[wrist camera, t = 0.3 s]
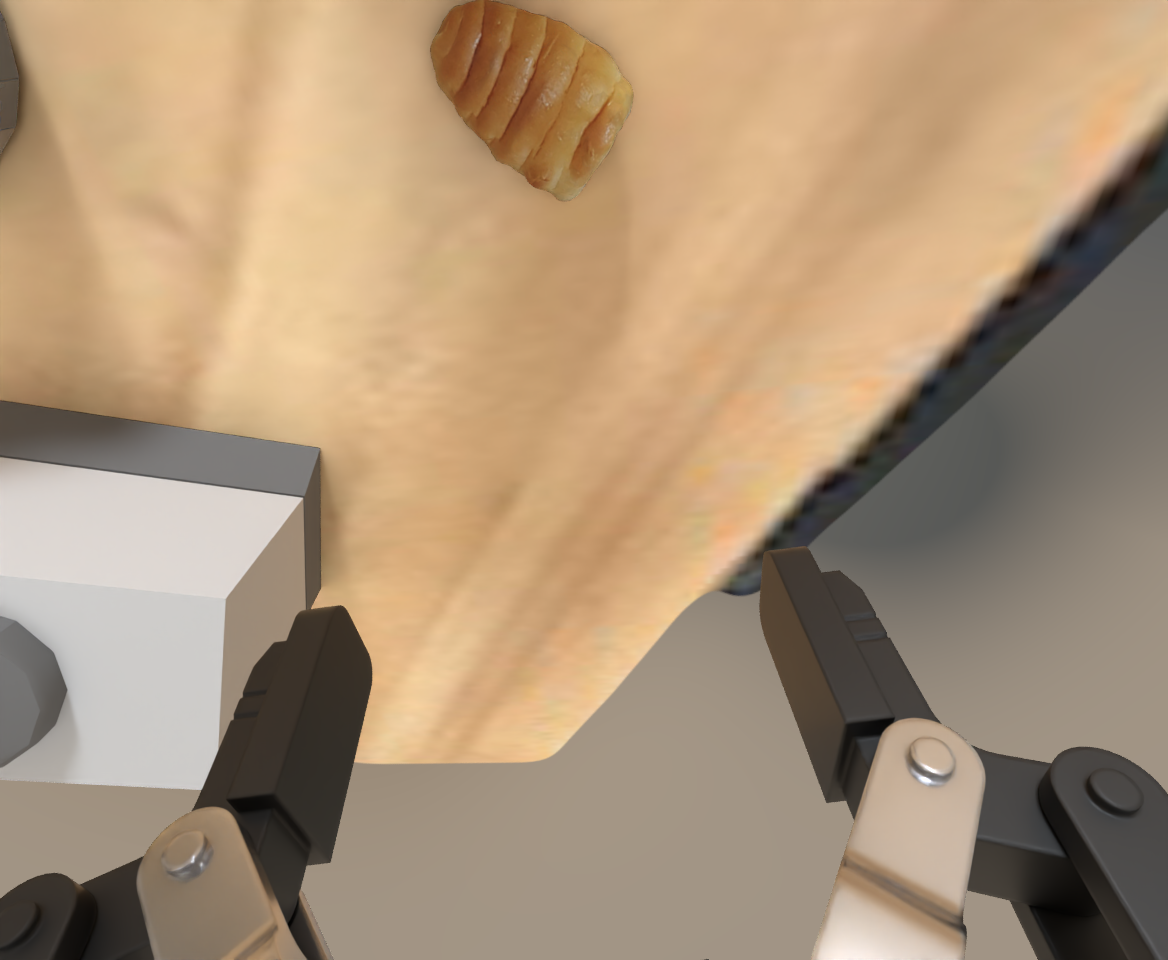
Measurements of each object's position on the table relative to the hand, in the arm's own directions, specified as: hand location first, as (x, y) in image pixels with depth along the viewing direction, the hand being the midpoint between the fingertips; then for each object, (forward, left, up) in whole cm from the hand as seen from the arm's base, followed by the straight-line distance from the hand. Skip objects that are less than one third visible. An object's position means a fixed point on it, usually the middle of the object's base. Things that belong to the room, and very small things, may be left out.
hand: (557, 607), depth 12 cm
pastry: (-6, +1, -29) cm, 29 cm away
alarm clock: (+14, -28, -29) cm, 43 cm away
